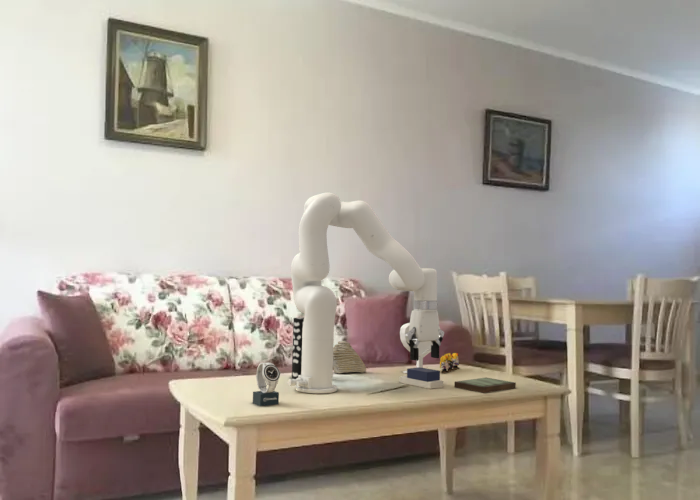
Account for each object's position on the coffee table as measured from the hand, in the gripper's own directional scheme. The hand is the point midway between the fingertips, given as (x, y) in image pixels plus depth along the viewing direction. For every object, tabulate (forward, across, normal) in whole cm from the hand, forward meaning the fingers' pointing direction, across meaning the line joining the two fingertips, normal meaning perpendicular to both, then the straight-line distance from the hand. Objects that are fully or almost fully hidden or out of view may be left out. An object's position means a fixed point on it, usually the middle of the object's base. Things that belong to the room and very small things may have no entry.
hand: (424, 358), depth 219 cm
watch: (+8, +60, -2) cm, 60 cm away
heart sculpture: (+9, -20, -21) cm, 30 cm away
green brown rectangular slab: (+9, -14, +14) cm, 21 cm away
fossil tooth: (+8, +6, -33) cm, 35 cm away
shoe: (+8, 0, -1) cm, 9 cm away
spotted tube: (+8, +26, -31) cm, 41 cm away
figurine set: (+9, -32, -17) cm, 37 cm away
